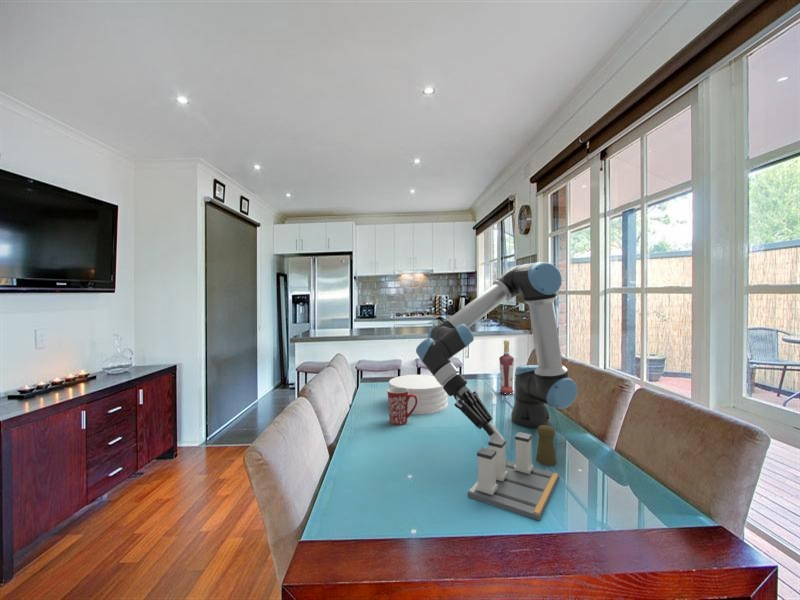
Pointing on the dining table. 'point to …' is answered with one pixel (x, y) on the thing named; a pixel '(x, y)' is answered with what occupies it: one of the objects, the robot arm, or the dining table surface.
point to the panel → (521, 491)
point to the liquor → (506, 370)
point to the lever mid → (499, 457)
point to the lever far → (487, 471)
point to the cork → (546, 446)
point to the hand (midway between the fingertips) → (501, 442)
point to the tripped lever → (523, 453)
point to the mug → (399, 405)
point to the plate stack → (422, 393)
